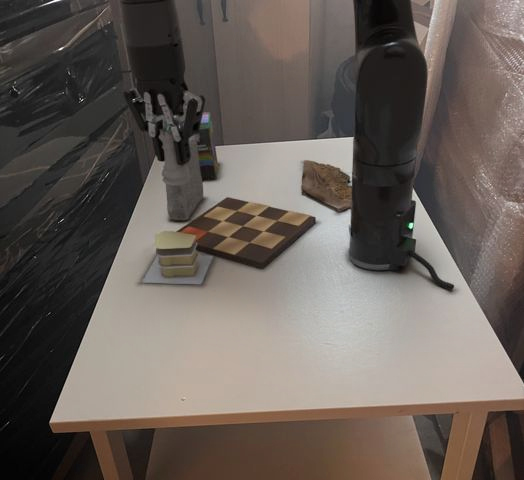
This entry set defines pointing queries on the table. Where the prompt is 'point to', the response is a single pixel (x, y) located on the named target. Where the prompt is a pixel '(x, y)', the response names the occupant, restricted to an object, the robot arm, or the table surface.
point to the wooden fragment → (327, 184)
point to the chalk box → (206, 148)
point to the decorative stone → (186, 188)
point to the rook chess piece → (172, 161)
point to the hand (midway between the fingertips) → (173, 161)
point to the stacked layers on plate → (177, 260)
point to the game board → (247, 231)
